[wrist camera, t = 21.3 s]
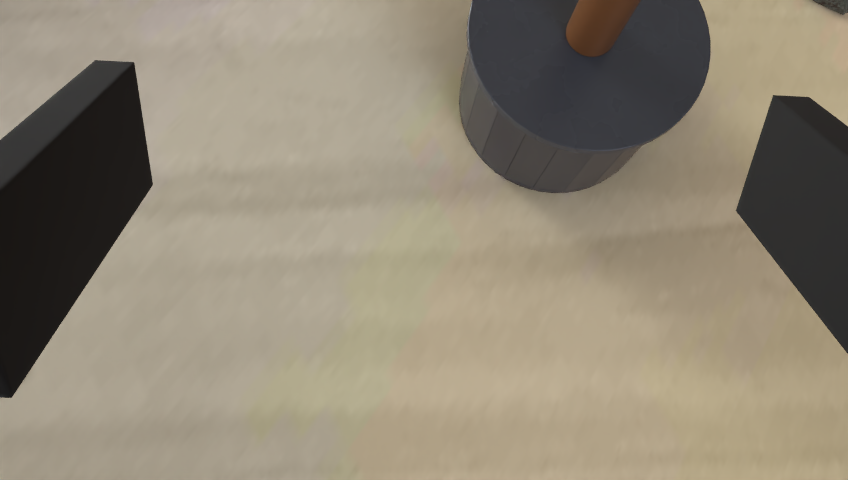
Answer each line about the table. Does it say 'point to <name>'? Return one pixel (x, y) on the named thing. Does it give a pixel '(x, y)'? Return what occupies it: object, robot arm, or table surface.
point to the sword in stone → (835, 5)
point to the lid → (590, 67)
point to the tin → (527, 148)
